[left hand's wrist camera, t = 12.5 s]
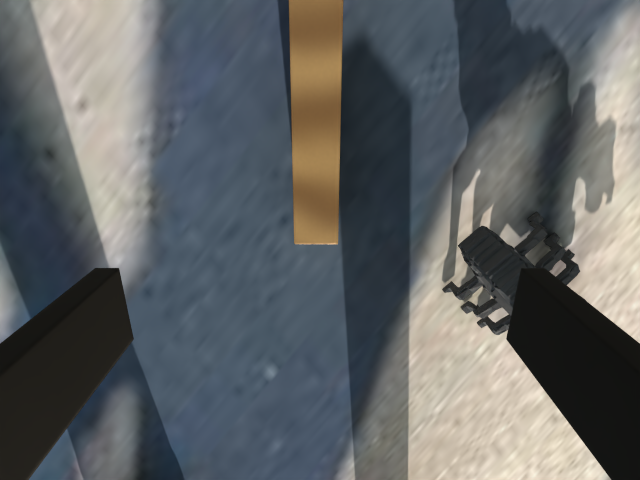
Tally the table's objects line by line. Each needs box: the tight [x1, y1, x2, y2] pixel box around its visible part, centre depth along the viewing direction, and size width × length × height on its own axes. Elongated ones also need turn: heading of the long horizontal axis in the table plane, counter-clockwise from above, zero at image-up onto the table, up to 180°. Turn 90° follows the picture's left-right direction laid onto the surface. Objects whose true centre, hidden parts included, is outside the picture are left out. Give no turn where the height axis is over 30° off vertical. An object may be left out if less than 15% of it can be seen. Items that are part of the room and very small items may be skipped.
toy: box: [442, 212, 586, 335], centre depth 37 cm, size 13×27×18 cm, turn 46°
